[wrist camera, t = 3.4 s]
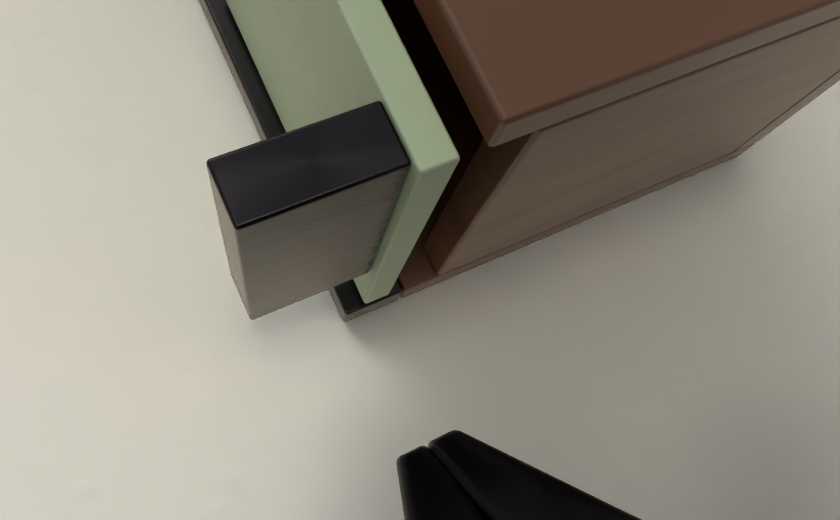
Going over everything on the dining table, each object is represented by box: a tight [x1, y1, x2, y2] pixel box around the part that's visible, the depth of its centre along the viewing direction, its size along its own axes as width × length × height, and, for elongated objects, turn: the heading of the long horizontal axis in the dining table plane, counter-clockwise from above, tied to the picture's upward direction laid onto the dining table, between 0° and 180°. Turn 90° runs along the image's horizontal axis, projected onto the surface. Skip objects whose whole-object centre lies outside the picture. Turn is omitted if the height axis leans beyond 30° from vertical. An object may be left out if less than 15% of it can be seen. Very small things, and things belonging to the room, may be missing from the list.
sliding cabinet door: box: [207, 0, 460, 320], centre depth 14 cm, size 8×3×7 cm, turn 25°
